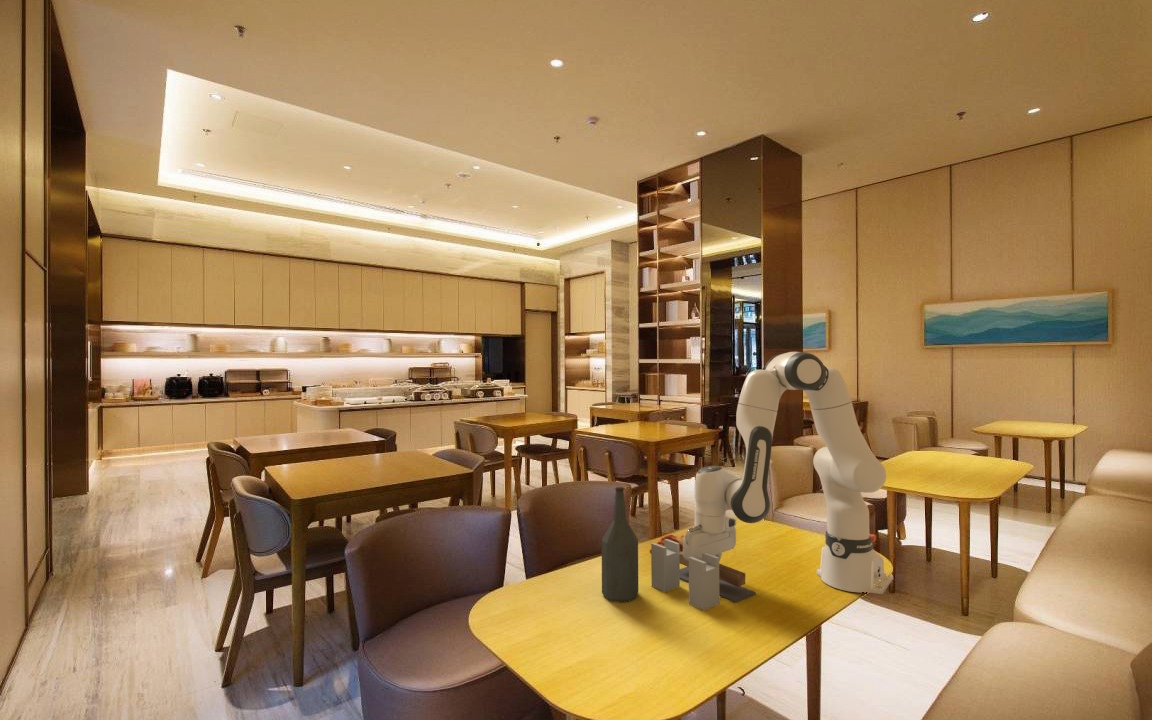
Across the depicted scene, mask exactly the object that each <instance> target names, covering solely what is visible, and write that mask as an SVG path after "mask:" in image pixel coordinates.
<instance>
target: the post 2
mask: <svg viewBox="0 0 1152 720" xmlns="http://www.w3.org/2000/svg"><path fill="white" fill-rule="evenodd" d="M719 564H720V561H719V557H716V556H714V555H711V554H708V553H705V552H704V553H702V561H701V560H699V559H696V558H693V557H689V583H688V604H689V605H690V606H693V607H695V608H697V609H699V610H701V611H702V612H703V611H704V612H705V611H707V610H710V609H711V608H714V607H716V606H718V605H720V604H721V603H720V596H719Z"/></svg>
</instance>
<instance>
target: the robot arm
mask: <svg viewBox="0 0 1152 720" xmlns="http://www.w3.org/2000/svg"><path fill="white" fill-rule="evenodd" d="M787 390H789V391H796V390H798V391H799V390H800V391H804V393H805V395H806V396H807V398H808V404H809V407H810V411H811V415H812V418H813V422H814V427H815V430H816V433H817V436H818V437H819V438H820V439H821V440H822V441H823V443H824V445H825V446H823V447H821V448H819V449H817V451H816V452H815V453H814V456H813V460H812V462H813V467H814V469H815V471H816V472H817V474H818V476H819V480H820V483H821V487H822V492H823V494H824V495H823V496H824V499H825V505H826V531H825V535H824V539H825V543H824V544H825V545H824V546H823V547H821V552H820V553H821V556H820V567H819V568H817V569H816V574H817V575H818V576H819V577H821V579H820V580H822V581H823V583H825V584H826V585H828V586H829V587H832V588H835V589H838V590H841V591H846V592H850V593H861V594H863V593H862V592H864V593H866V592H867V593H870V594H879V595H882V594H884V593H885V592H886V590H887V589H888V587H889V585H891V583H892V581H893V580H894V576H893V574H891V573H890V574H891V575H890V576H889V577H887V576H886V575H887V573H886V572H887V571H886V570H885V561H884V558H883V557H882V555H880V554H879V552H877V551H876V550H875V549H874V545H873V543H874V542H876V540H877V536H876V534H873V533H872V534H871V533H870V510H869V507H868V505H867V503H866V501H864V498H863V495H862V493H863V494H864V493H870V494H873V493H875V492H877V491H879V490H880V489H881V488H882V487H883V486H884V485H885V483H886V480H887V470H886V468H885V466H884V464H883V463H882V462H881V461H880V460H878V458H877V457H876V455H875V454H874V453H873V452H872V450H871V448H870V446H869V445H868V442H867V441H866V439H865V437H864V435H863V433H862V431H861V429H860V427H859V424H858V420H857V416H856V413H855V410H854V409H855V408H854V405H853V401H852V398H851V396H850V391H849V389H848V387H847V384H846V382H845V380H844V378H843V375H842V373H841V372H840V370H839V369H836V368H835V367H830V366H825V364H824V363H823V362H822V360H821V359H820V358H818V356H816V355H815V354H813V353H810V352H806V351H788V352H784V353H783V352H782V353H777V354H775V355H773V356H772V357H771V358H770V359H769V360H767V362H766V364H765V365H764V367H763V368H762V369H756V370H751V371H750V372H749V373H748V374H747V376H746V377H745V380H744V382H743V385H742V388H741V392H740V394H739V398H738V402H737V407H736V416H735V417H736V418H735V419H736V421H735V424H736V428H737V431H738V432H739V434H740V436H741V437H742V439H743V442H744V445H745V461H744V468H743V474H742V476H738V475H736V474H733V473H731V472H729V471H728V470H726V469H725V468H724V467H722V466H720V465H707V466H704V467H701V468H699V469H698V471H697V472H696V475H695V479H694V480H695V481H694V499H695V500H694V501H695V506H694V514H693V515H694V522H693V523H694V524H693V525H694V526H693V527H689V528H688V530H687V531H686V532H685V535H684V536H685V537H684V543H683V557H684V559H685V560H687V561H689V557H693V558H696V559H699V560H701V561H702V553H704V552H705V553H708V554H711V555H713V556H716V557H719V562H720V561H721V559H722V555H723V554H722V553H725V552H727V551H731V550H733V549H735V547H736V544H737V529H736V526H737V519H738V520H740V521H741V522H742V523H746V524H755V523H759V522H761V521H762V520H764V519H765V518H766V517H767V515H768V514H769V511H770V508H771V501H770V496H769V492H768V479H769V472H770V471H769V470H770V464H771V455H772V445H773V437H774V431H775V425H776V422H777V421H776V420H777V415H778V411H779V403H780V400H781V397H782V396H783V393H784V392H786V391H787ZM728 510H729V511H732V512H733V514H734V515H735V516H736V518H737V519H736V518H734V517H732V516H729V515H726V514H727V513H726V512H727V511H728ZM884 572H885V573H884ZM885 578H886V580H885V581H883V580H884V579H885ZM879 580H881V581H879ZM880 582H882V583H881V584H879V583H880ZM874 584H875V585H874ZM877 584H879V585H878V586H876V585H877ZM874 586H876V587H875V588H873V587H874ZM872 588H873V589H872ZM869 590H870V591H869Z"/></svg>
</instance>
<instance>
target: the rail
mask: <svg viewBox="0 0 1152 720" xmlns="http://www.w3.org/2000/svg"><path fill="white" fill-rule="evenodd" d="M679 554H680V565H683V566H684V567H689V561H687V560H685V559H684V557H683V551H681V552H679ZM719 580H722V581H724V582H727V583H729V584H732V585H734V586H737V587H740V586H741V587H743V586H744V585H746V573H745V572H744V571H740V570H738V569H735V568H733V567H730V566H727V565H724V564H721V563H719Z"/></svg>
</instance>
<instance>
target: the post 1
mask: <svg viewBox="0 0 1152 720" xmlns="http://www.w3.org/2000/svg"><path fill="white" fill-rule="evenodd" d="M650 545H651V546H650V547H651V549H650V550H651V553H650V557H651V558H650V559H651V561H650V562H651V570H650V571H651V573H650V574H651V587H653V588H655V589H656V590H659V591H661V592H662V593H666V592H669V591H672V590H674V589H677V588H679V587H680V586H681V584H680V582H681V580H680V569H681V567H680V565H681V564H680V554H679V543H677V542H674V541H671V540H668V539H664V546H661V545H659V544H657V543H656V542H651V543H650Z"/></svg>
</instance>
